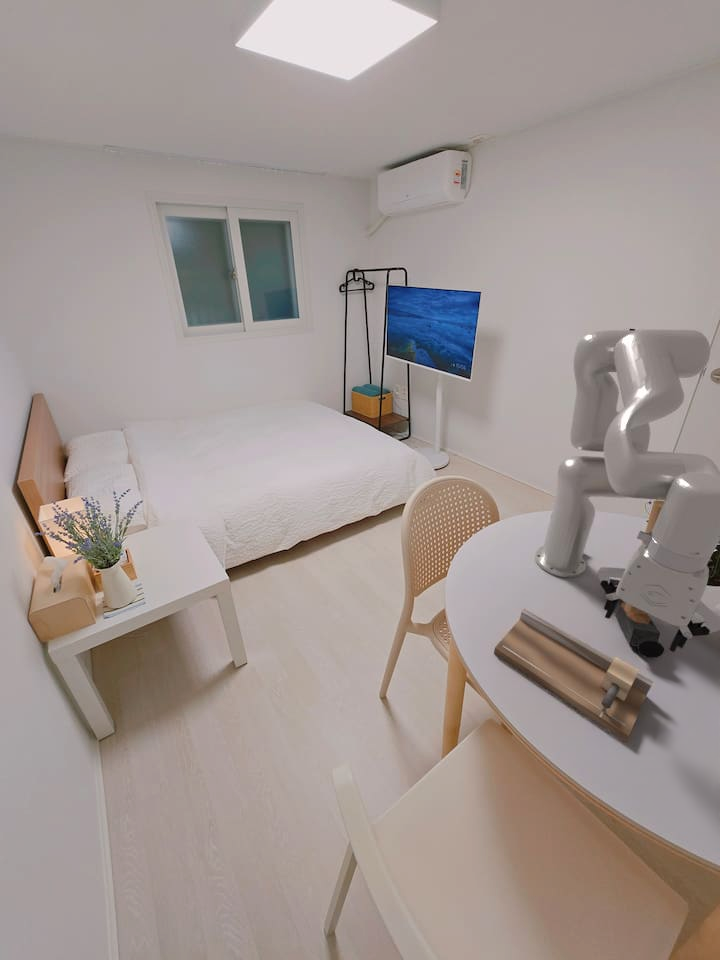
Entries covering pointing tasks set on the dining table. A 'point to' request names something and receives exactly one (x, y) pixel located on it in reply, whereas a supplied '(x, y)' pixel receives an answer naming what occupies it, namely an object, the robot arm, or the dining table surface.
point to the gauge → (617, 681)
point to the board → (571, 671)
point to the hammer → (640, 613)
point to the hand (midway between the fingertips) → (640, 629)
